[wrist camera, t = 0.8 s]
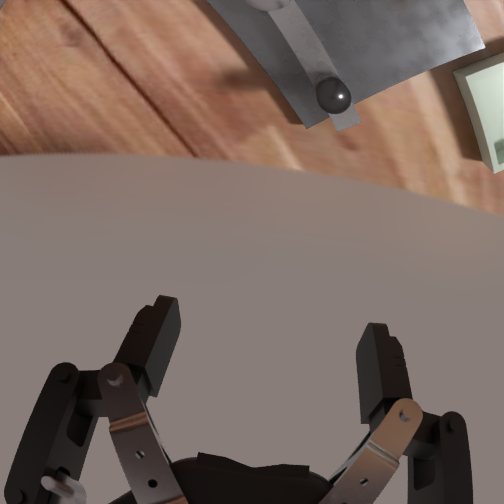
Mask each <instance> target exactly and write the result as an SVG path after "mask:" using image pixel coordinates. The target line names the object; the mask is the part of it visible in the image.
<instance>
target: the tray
mask: <svg viewBox="0 0 504 504" xmlns="http://www.w3.org/2000/svg"><path fill="white" fill-rule="evenodd" d="M453 75H454V77H455V79H456V82H457V84H458V87H459V89H460V92H461V94H462V97H463V100H464V102H465V105H466V108H467V111H468V114H469V117H470V120H471V123H472V126H473V129H474V132H475V136H476V139H477V142H478V146H479V150H480V153H481V157H482V161H483V163H484V164H485V165H486V166H487V167H488V168H489V169H490V170H491V171H492V172H493V173H494V174H495V173H497V172H499V171H502V170H504V52H503V53H500V54H497V55H494V56H491V57H489V58H486V59H483V60H481V61H478V62H475V63H473V64H470V65H468V66H465V67H463V68H460V69H458V70H455V71H453Z"/></svg>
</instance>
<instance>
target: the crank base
mask: <svg viewBox="0 0 504 504" xmlns="http://www.w3.org/2000/svg"><path fill="white" fill-rule="evenodd" d="M294 1H295V2H296V4H297V5H298V7H299V8H300V10H301V11H302V13H303V14H304V16H305V17H306V19H307V21H308V22H309V24H310V25H311V27H312V29H313V30H314V32H315V34H316V35H317V37H318V39H319V40H320V42H321V44H322V45H323V47H324V49H325V51H326V52H327V54H328V56H329V58H330V60H331V61H332V63H333V65H334V67H335V69H336V71H337V73H338V74H339V76H340V78H341V80H342V81H343V83H344V84H345V85H346V87H347V88H348V89H349V91H350V93H351V97H352V102H353V104H356V103H358V102H360V101H362V100H364V99H366V98H368V97H370V96H372V95H374V94H376V93H378V92H381V91H383V90H385V89H387V88H389V87H391V86H393V85H396V84H398V83H400V82H402V81H404V80H407V79H409V78H411V77H413V76H416V75H418V74H420V73H423V72H425V71H427V70H430V69H432V68H434V67H437V66H439V65H442V64H444V63H447V62H449V61H452V60H454V59H457V58H459V57H462V56H464V55H467V54H470V53H472V52H475V51H478V50H480V49H483V48H485V45H484V43H483V40H482V38H481V36H480V34H479V31H478V29H477V27H476V25H475V23H474V21H473V19H472V17H471V15H470V13H469V11H468V9H467V7H466V5H465V3H464V1H463V0H294ZM207 2H208V3H209V4H210V5H211V6H212V7H213V8H214V9H215V10H216V11H217V13H218V14H219V15H220V16H221V17H222V18H223V19H224V21H225V22H226V23H227V24H228V25H229V26H230V28H231V29H232V30H233V31H234V32H235V33H236V35H237V36H238V37H239V38H240V39H241V41H242V42H243V43H244V44H245V46H246V47H247V48H248V49H249V51H250V52H251V53H252V54H253V56H254V57H255V58H256V59H257V61H258V62H259V63H260V64H261V66H262V67H263V68H264V70H265V71H266V72H267V74H268V75H269V76H270V78H271V79H272V80H273V82H274V83H275V84H276V86H277V87H278V88H279V90H280V91H281V93H282V94H283V95H284V97H285V98H286V100H287V101H288V102H289V104H290V105H291V107H292V108H293V110H294V111H295V112H296V114H297V115H298V117H299V118H300V120H301V121H302V123H303V124H304V126H305V127H306V129H308V128H310V127H312V126H313V125H315V124H317V123H319V122H321V121H323V120H325V119H327V118H329V117H330V116H329V114H328V113H327V112H325V111H324V110H323V109H322V108H321V107H320V106H319V104H318V102H317V97H316V91H315V88H314V86H313V84H312V82H311V81H310V79H309V77H308V75H307V73H306V72H305V70H304V68H303V67H302V65H301V63H300V61H299V60H298V58H297V56H296V55H295V53H294V52H293V50H292V48H291V47H290V45H289V43H288V42H287V40H286V39H285V37H284V36H283V34H282V32H281V31H280V29H279V28H278V26H277V25H276V23H275V22H274V20H273V19H272V17H271V16H270V14H269V13H268V12H264V11H260V10H258V9H256V8H254V7H252V6H250V5H249V4H248V3H247V2H246V1H245V0H207Z"/></svg>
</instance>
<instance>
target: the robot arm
mask: <svg viewBox="0 0 504 504" xmlns="http://www.w3.org/2000/svg"><path fill="white" fill-rule="evenodd" d="M180 328H181V319H180V313H179V305H178V300H177V298H174V297H169V296H163V295H159V296H158V297H157V299H156V301H155V303H154V305H153V306H149V305H146V306H145V307H144V308H142V309H141V310H140V311H139V312H138V313H137V315H136V317H135V319H134V321H133V324H132V325H131V327H130V329H129V332H128V333H127V335H126V337H125V339H124V341H123V343H122V345H121V347H120V349H119V351H118V353H117V355H116V357H115V359H114V361H113V362H112V363H109V364H107V365H105V366H104V367H102V368H101V370H88V371H78V369H77V368H76V366H75V365H73V364H71V363H67V362H64V363H60V364H57V365H56V366H55V367H54V368H53V369H52V370H51V372H50V374H49V376H48V378H47V380H46V382H45V384H44V387H43V389H42V391H41V393H40V395H39V397H38V400H37V402H36V404H35V407H34V409H33V412H32V414H31V416H30V418H29V421H28V424H27V426H26V429H25V431H24V433H23V436H22V439H21V441H20V444H19V447H18V449H17V452H16V455H15V458H14V461H13V464H12V466H11V470H10V473H9V476H8V479H7V482H6V485H5V489H4V497H5V500H6V502H7V504H86V491H85V489H84V487H83V486H82V485H81V483H80V482H79V478H80V475H81V471H82V468H83V464H84V461H85V458H86V454H87V451H88V448H89V445H90V441H91V439H92V436H93V432H94V429H95V426H96V423H97V420H98V418H99V417H108V419H109V423H110V427H109V432H110V435H111V438H112V441H113V444H114V447H115V449H116V453H117V455H118V458H119V461H120V463H121V466H122V468H123V471H124V473H125V476H126V478H127V480H128V483H129V485H130V487H131V490H130V491H129V492H127V493H125V494H124V495H122V496H121V497H119V498H117V499H116V500H114V501H112V502H111V503H109V504H373V502H374V501H375V500H376V498H377V497H378V496H379V495H380V493H381V492H382V490H383V489H384V488H385V486H386V485H387V483H388V482H389V481H390V479H391V477H392V476H393V474H394V473H395V471H396V470H397V468H398V466H399V462H398V461H399V459H400V457H401V456H402V455H405V456H408V504H473V486H472V471H471V460H470V451H469V442H468V435H467V428H466V423H465V420H464V418H463V417H462V416H461V415H460V414H459V413H457V412H453V411H451V412H447V413H445V414H444V415H443V416H437V415H434V414H430V413H427V412H424V411H422V409H421V407H420V406H419V405H418V403H417V402H415V401H414V400H413V398H412V393H411V388H410V382H409V377H408V372H407V368H406V362H405V359H404V353H403V349H402V346H401V344H400V343H399V341H398V340H397V338H396V337H391V336H390V335H389V331H388V327H387V325H386V324H382V323H368V325H367V327H366V329H365V331H364V333H363V335H362V337H361V339H360V341H359V343H358V346H357V350H356V364H357V373H358V385H359V399H360V413H361V424H369V426H370V430H369V431H368V433H367V434H366V435H365V437H364V438H363V439H362V440H361V442H360V443H359V445H358V446H357V447H356V448H355V450H354V451H353V452H352V453H351V455H350V456H349V457H348V458H347V459H346V461H345V462H344V463H343V464H342V465H341V466H340V467H339V468H338V469H337V470H336V471H335V472H334V473H333V475H332V476H331V477H330V478H329V479H328V480H327V479H325V478H324V477H322V476H320V475H318V474H316V473H314V472H310V471H309V466H305V465H288V464H280V465H272V466H266V467H257V468H256V467H255V468H254V467H249V466H247V465H244V464H241V463H239V462H236V461H234V460H231V459H229V458H226V457H222V456H216V455H211V454H205V453H200V452H198V456H197V457H191V458H185V459H181V460H178V461H175V462H172V460H171V458H170V456H169V454H168V452H167V450H166V448H165V446H164V444H163V442H162V440H161V438H160V436H159V434H158V431H157V429H156V427H155V425H154V422H153V420H152V418H151V415H150V413H149V410H148V408H147V405H146V402H147V399H148V397H149V396H153V397H157V395H158V393H159V390H160V386H161V384H162V381H163V378H164V375H165V372H166V370H167V367H168V364H169V362H170V358H171V356H172V353H173V351H174V348H175V345H176V342H177V339H178V337H179V333H180Z"/></svg>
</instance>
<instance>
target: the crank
mask: <svg viewBox="0 0 504 504" xmlns="http://www.w3.org/2000/svg"><path fill="white" fill-rule="evenodd" d="M245 1H246V2H247V3H248V4H249V5H250V6H252V7H254V8H256V9H258V10H260V11H264V12H268V13H269V14H270V16H271V17H272V19H273V20H274V22H275V23H276V25H277V26H278V28H279V29H280V31H281V32H282V34H283V36H284V37H285V39H286V40H287V42H288V43H289V45H290V47H291V48H292V50H293V52H294V53H295V55H296V56H297V58H298V60H299V61H300V63H301V65H302V67H303V68H304V70H305V72H306V73H307V75H308V77H309V79H310V81H311V82H312V84H313V86H314V88H315V91H316V97H317V102H318V104H319V106H320V107H321V108H322V109H323V110H324V111H325V112H327V113H328V114H329V116H330V118H331V120H332V122H333V124H334V126H335V128H336V130H337V132H338V131H341V130H343V129H346V128H348V127H351V126H353V125H356V124H359V123H361V120H360V117H359V115H358V113H357V111H356V109H355V107H354V104H353V102H352V97H351V93H350V91H349V89H348V88H347V87H346V85H345V84H344V83H343V81H342V80H341V78H340V76H339V74H338V73H337V71H336V69H335V67H334V65H333V63H332V61H331V60H330V58H329V56H328V54H327V52H326V51H325V49H324V47H323V45H322V44H321V42H320V40H319V39H318V37H317V35H316V34H315V32H314V30H313V29H312V27H311V25H310V24H309V22H308V21H307V19H306V17H305V16H304V14H303V13H302V11H301V10H300V8H299V7H298V5H297V4H296V2H295V1H294V0H245Z"/></svg>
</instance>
